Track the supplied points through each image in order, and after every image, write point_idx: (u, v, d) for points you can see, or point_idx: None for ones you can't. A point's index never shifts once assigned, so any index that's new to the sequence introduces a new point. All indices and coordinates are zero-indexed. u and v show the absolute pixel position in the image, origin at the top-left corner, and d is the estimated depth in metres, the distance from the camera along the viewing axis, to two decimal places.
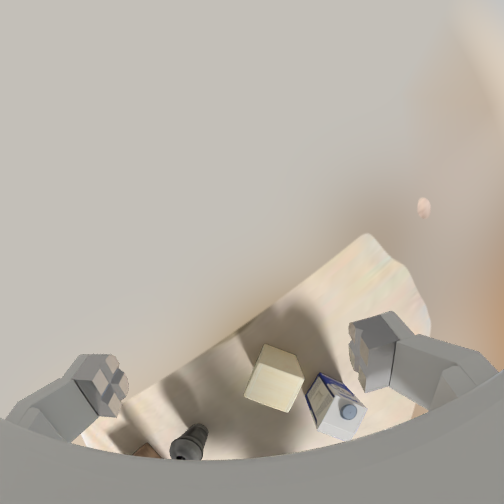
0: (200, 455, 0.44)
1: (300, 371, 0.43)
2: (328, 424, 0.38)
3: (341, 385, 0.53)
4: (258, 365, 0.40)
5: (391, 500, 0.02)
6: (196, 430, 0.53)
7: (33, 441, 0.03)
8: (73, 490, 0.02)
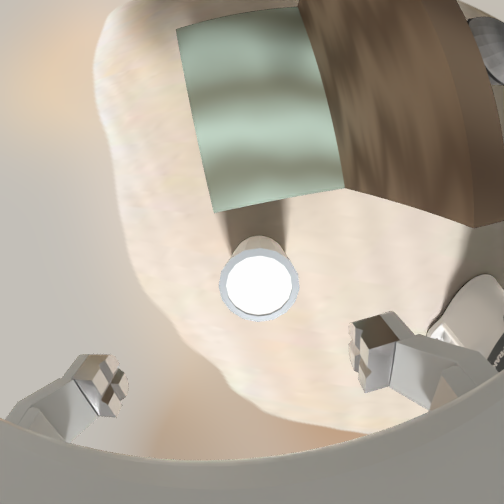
0: None
1: None
2: None
3: None
4: None
5: (391, 500, 0.02)
6: None
7: (33, 441, 0.03)
8: (73, 490, 0.02)
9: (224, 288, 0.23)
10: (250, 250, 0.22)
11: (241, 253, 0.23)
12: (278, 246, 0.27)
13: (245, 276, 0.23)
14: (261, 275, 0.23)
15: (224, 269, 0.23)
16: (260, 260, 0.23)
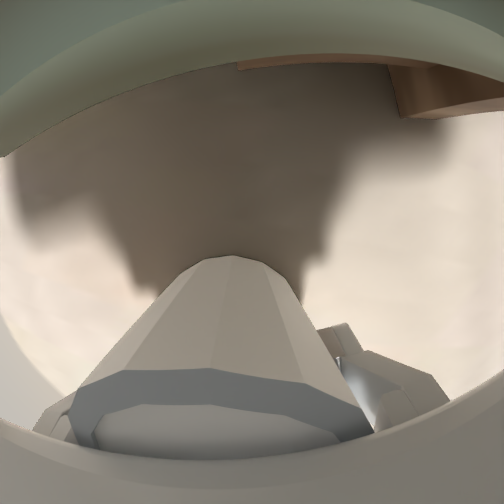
0: None
1: None
2: None
3: None
4: None
5: (391, 500, 0.02)
6: None
7: (33, 441, 0.03)
8: (73, 490, 0.02)
9: None
10: (154, 373, 0.03)
11: (114, 379, 0.04)
12: (290, 299, 0.08)
13: (157, 449, 0.04)
14: (223, 454, 0.04)
15: (73, 414, 0.04)
16: (213, 416, 0.04)
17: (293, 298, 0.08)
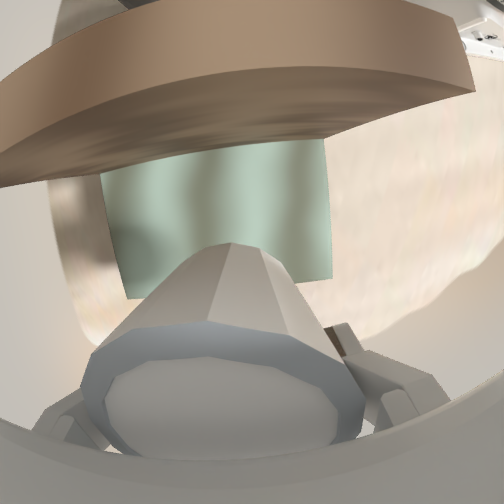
0: None
1: None
2: None
3: None
4: None
5: (391, 500, 0.02)
6: None
7: (33, 441, 0.03)
8: (73, 490, 0.02)
9: (106, 430, 0.05)
10: (159, 329, 0.04)
11: (124, 339, 0.04)
12: (284, 278, 0.09)
13: (162, 412, 0.05)
14: (222, 415, 0.05)
15: (85, 383, 0.05)
16: (211, 370, 0.05)
17: (287, 277, 0.09)
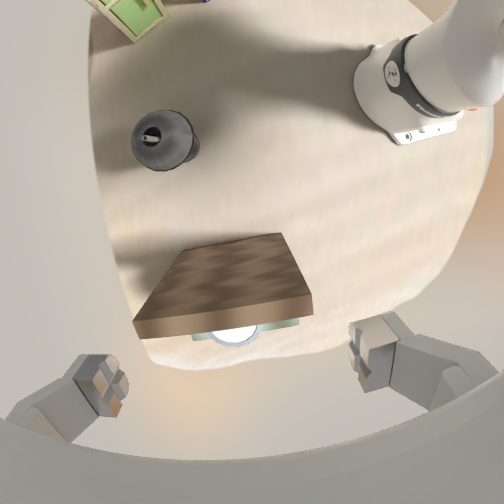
0: (171, 111, 0.26)
1: None
2: None
3: None
4: None
5: (391, 500, 0.02)
6: None
7: (33, 441, 0.03)
8: (73, 490, 0.02)
9: None
10: None
11: None
12: None
13: None
14: None
15: None
16: None
17: None
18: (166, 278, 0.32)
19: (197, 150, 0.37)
